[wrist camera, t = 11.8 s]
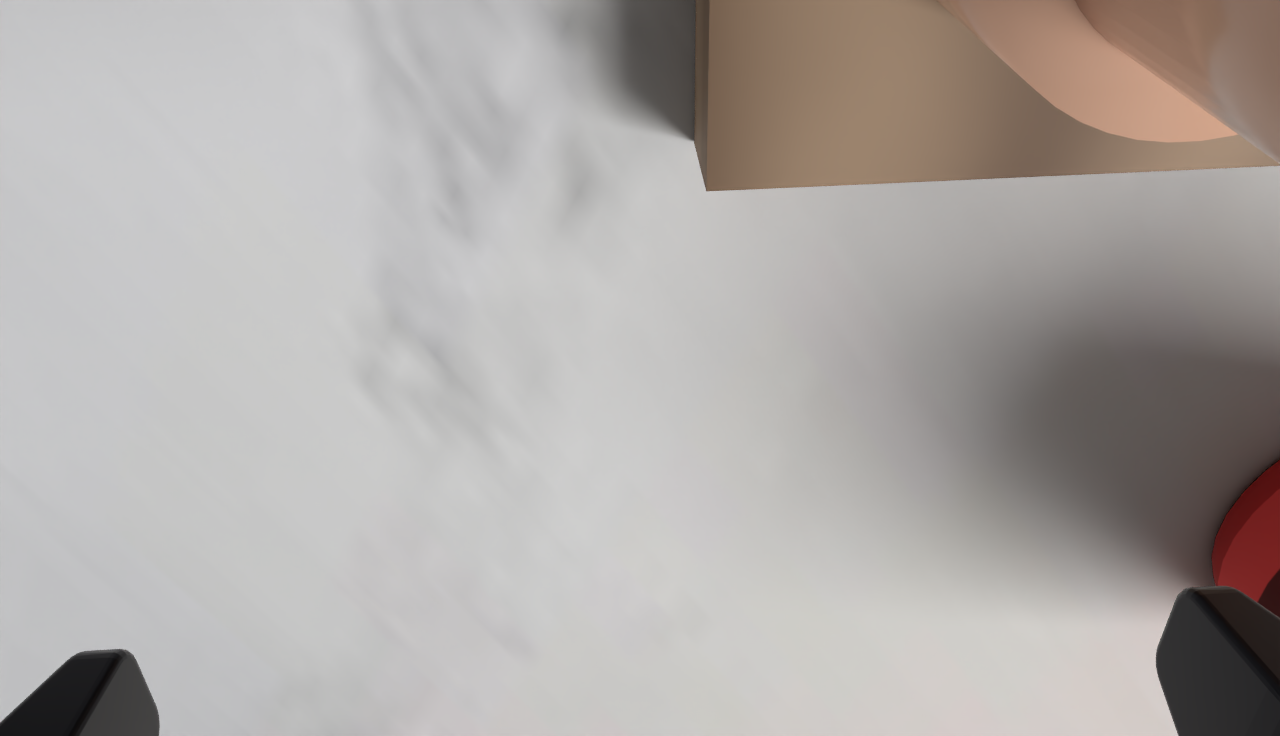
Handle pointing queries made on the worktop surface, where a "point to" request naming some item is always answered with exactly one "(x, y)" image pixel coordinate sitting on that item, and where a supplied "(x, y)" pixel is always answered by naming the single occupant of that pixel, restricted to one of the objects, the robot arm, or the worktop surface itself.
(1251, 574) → the canned food
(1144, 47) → the peach chess pawn
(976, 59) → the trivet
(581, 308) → the worktop surface
